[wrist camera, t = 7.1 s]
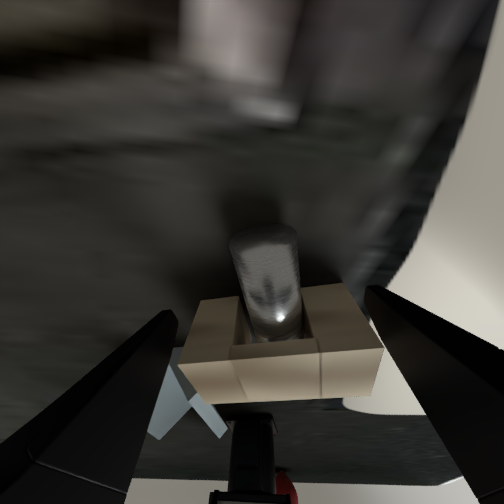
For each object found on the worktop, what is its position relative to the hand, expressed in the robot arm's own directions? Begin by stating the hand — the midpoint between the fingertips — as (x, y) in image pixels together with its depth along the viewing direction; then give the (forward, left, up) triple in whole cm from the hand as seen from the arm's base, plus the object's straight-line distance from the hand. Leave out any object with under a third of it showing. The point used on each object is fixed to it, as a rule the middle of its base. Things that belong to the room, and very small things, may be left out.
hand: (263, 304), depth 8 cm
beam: (-5, 0, -4) cm, 7 cm away
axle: (-3, 0, -2) cm, 4 cm away
